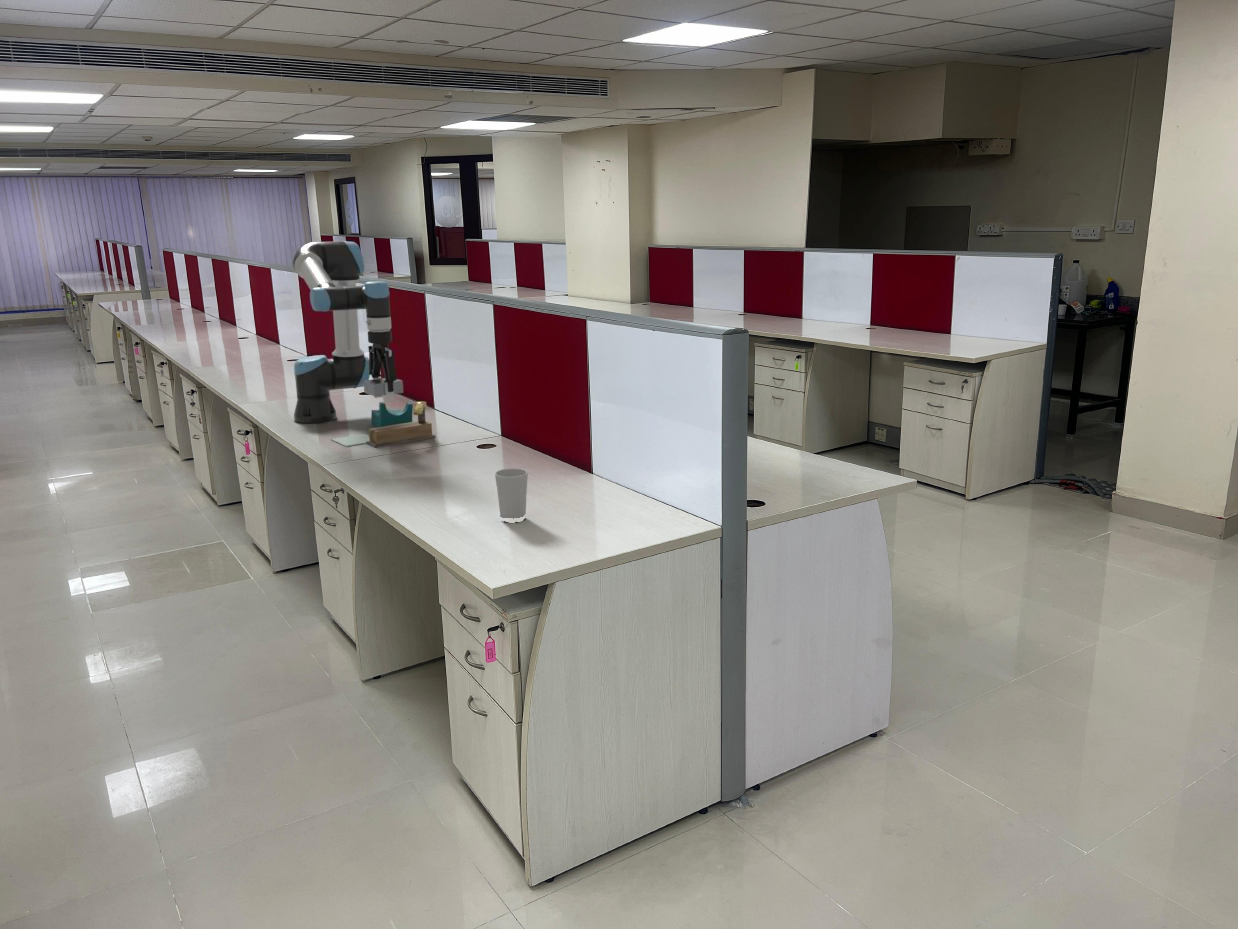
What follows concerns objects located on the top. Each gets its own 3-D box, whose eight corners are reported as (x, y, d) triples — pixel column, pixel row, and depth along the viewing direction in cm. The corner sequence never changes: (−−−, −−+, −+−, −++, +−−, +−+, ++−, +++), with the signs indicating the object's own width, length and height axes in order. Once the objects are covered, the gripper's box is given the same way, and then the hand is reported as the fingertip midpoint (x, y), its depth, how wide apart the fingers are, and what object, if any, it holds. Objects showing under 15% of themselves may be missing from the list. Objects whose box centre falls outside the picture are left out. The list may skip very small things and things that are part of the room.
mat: (331, 440, 299) (331, 439, 299) (365, 435, 307) (364, 433, 307) (346, 446, 290) (346, 445, 290) (380, 441, 298) (380, 440, 298)
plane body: (366, 443, 295) (364, 414, 292) (425, 433, 308) (424, 406, 306) (375, 447, 290) (373, 418, 287) (435, 437, 303) (434, 409, 301)
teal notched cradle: (411, 433, 312) (412, 404, 310) (380, 433, 307) (381, 404, 305) (401, 423, 328) (401, 395, 325) (371, 423, 323) (371, 395, 321)
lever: (412, 415, 290) (411, 409, 290) (416, 407, 303) (415, 401, 302) (423, 415, 291) (422, 409, 290) (426, 407, 303) (426, 401, 303)
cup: (497, 514, 222) (495, 468, 219) (529, 513, 223) (528, 467, 220) (496, 525, 215) (494, 477, 212) (529, 524, 215) (527, 476, 212)
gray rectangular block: (364, 392, 292) (363, 380, 290) (392, 388, 298) (391, 377, 297) (374, 396, 286) (374, 384, 285) (403, 392, 292) (402, 380, 291)
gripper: (354, 327, 291) (360, 395, 298) (383, 334, 276) (387, 405, 282) (376, 326, 296) (380, 392, 302) (405, 332, 281) (409, 402, 287)
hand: (384, 399), depth 292 cm, fingers closed on gray rectangular block, 8 cm apart
